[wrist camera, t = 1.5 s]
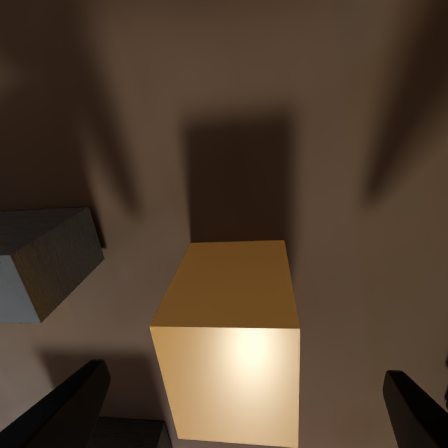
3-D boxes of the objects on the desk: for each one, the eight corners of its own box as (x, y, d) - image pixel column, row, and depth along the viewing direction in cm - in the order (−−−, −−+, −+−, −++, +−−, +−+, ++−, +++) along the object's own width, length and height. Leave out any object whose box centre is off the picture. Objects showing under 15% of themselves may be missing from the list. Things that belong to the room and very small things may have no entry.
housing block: (284, 239, 12) (300, 329, 7) (285, 331, 13) (298, 448, 9) (191, 242, 12) (149, 326, 8) (204, 329, 14) (178, 438, 10)
